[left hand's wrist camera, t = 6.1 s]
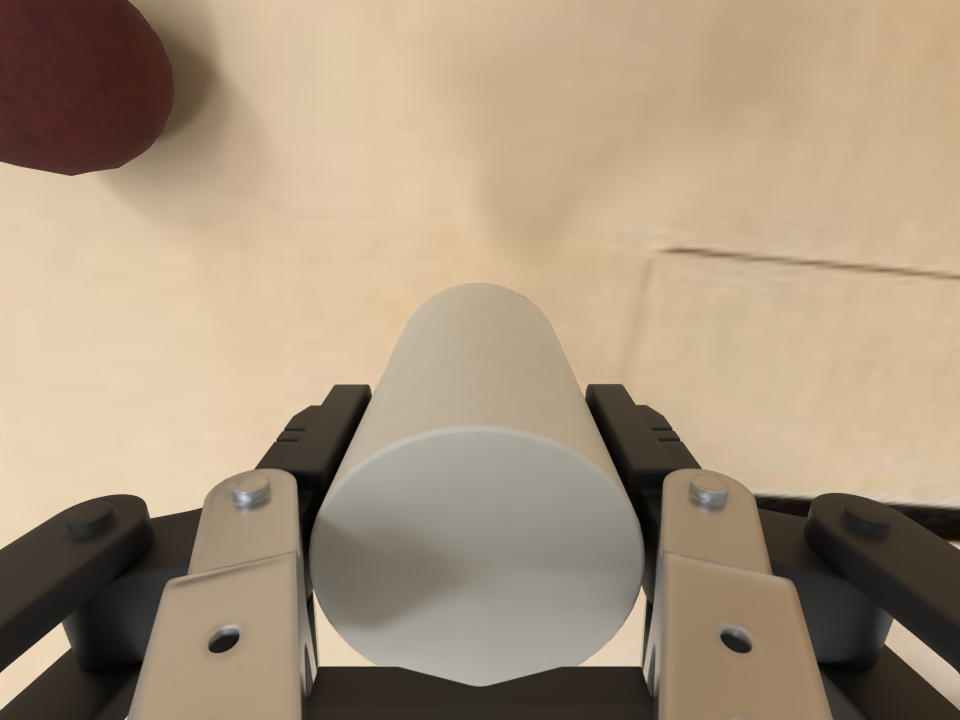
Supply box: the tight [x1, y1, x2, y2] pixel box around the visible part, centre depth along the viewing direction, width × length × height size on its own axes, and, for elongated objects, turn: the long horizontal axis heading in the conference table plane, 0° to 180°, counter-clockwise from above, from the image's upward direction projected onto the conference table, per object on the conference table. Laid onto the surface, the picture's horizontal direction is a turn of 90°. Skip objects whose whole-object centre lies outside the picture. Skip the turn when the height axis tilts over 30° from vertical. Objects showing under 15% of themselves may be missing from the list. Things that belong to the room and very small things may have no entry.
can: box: [309, 283, 645, 686], centre depth 11 cm, size 5×5×8 cm
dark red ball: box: [0, 0, 174, 176], centre depth 19 cm, size 7×8×7 cm
